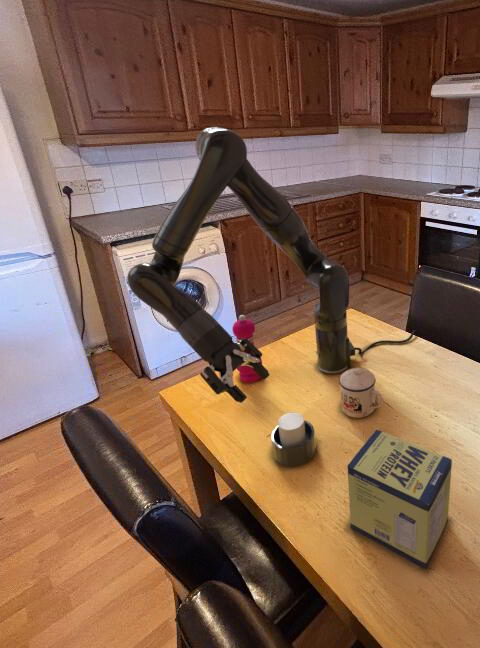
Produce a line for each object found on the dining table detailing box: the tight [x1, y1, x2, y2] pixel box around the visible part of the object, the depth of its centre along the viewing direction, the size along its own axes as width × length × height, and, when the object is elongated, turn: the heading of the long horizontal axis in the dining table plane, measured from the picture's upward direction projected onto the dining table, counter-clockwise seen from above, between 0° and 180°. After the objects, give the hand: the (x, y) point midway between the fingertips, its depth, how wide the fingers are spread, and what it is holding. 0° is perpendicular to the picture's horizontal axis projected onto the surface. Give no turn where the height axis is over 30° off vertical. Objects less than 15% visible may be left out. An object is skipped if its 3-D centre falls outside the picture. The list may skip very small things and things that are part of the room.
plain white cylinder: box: [277, 411, 306, 448], centre depth 92 cm, size 6×6×8 cm
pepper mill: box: [232, 314, 263, 384], centre depth 117 cm, size 7×7×20 cm
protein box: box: [346, 429, 453, 569], centre depth 74 cm, size 10×16×16 cm
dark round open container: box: [270, 419, 317, 468], centre depth 93 cm, size 9×9×5 cm
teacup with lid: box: [338, 367, 384, 419], centre depth 104 cm, size 12×9×12 cm
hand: (255, 388), depth 91 cm, fingers open, 8 cm apart
